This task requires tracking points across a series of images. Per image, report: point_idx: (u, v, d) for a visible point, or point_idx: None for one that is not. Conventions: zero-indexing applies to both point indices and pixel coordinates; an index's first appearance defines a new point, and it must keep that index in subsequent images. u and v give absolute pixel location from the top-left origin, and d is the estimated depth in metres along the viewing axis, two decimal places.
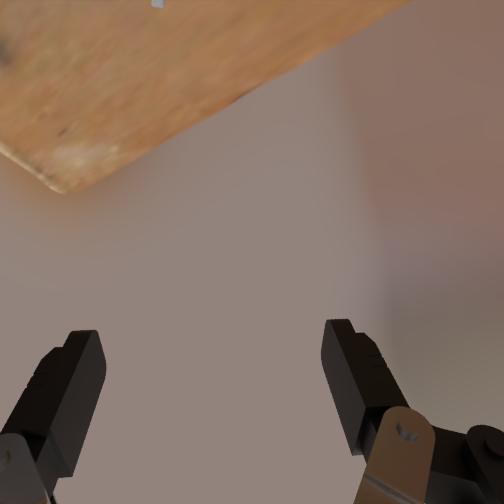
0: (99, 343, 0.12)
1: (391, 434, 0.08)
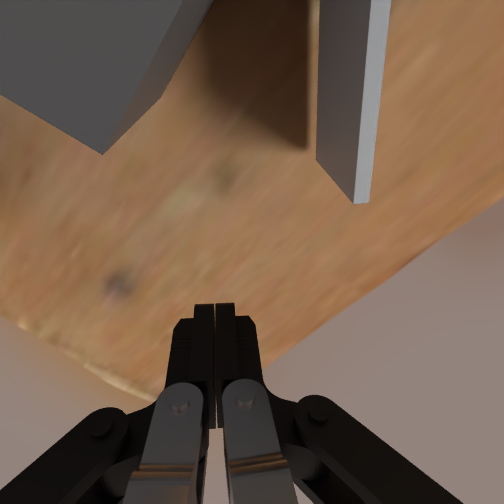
0: (214, 316, 0.13)
1: (235, 412, 0.09)
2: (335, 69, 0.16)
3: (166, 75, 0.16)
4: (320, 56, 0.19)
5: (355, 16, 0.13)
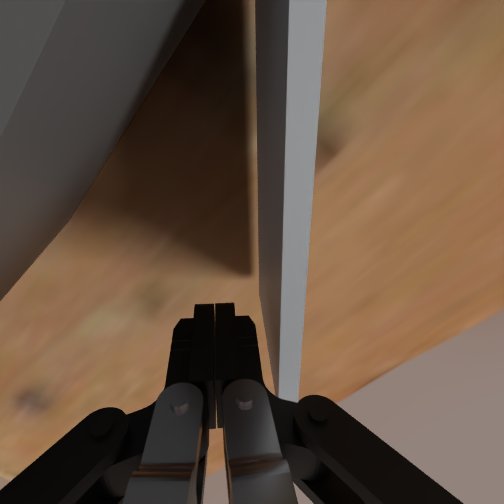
0: (214, 316, 0.13)
1: (235, 412, 0.09)
2: (266, 234, 0.13)
3: (44, 239, 0.12)
4: (258, 196, 0.15)
5: (274, 212, 0.10)
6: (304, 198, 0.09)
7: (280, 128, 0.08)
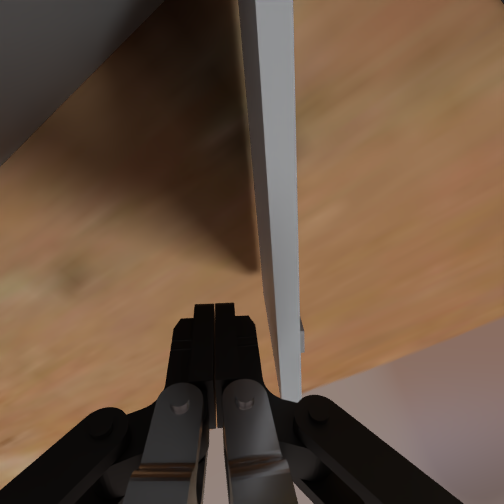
0: (215, 316, 0.13)
1: (235, 412, 0.09)
2: (262, 234, 0.13)
3: None
4: (255, 196, 0.15)
5: (264, 211, 0.10)
6: (289, 196, 0.09)
7: (261, 128, 0.08)
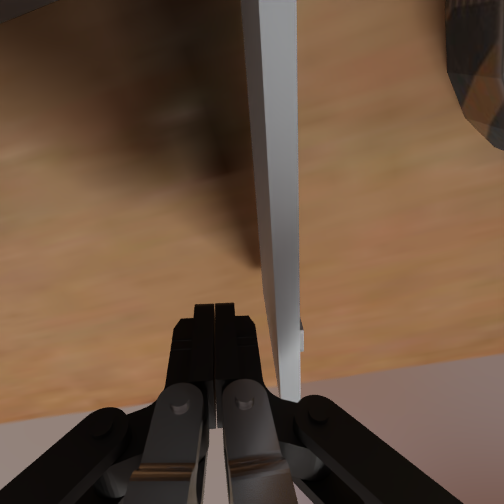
0: (215, 316, 0.13)
1: (234, 412, 0.09)
2: (262, 233, 0.13)
3: None
4: (256, 194, 0.15)
5: (265, 210, 0.10)
6: (290, 196, 0.08)
7: (262, 127, 0.08)
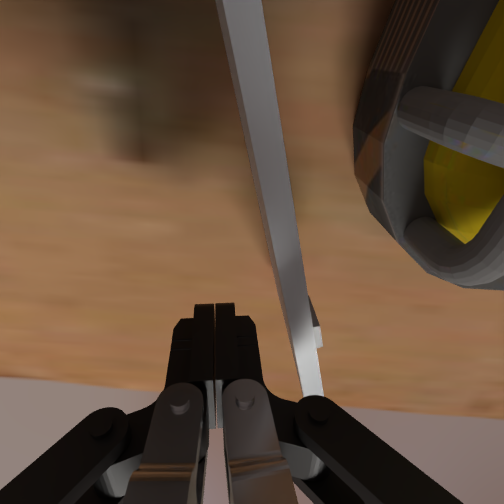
0: (214, 316, 0.13)
1: (235, 412, 0.09)
2: (267, 235, 0.13)
3: None
4: (257, 197, 0.15)
5: (264, 214, 0.10)
6: (284, 199, 0.09)
7: (248, 135, 0.08)
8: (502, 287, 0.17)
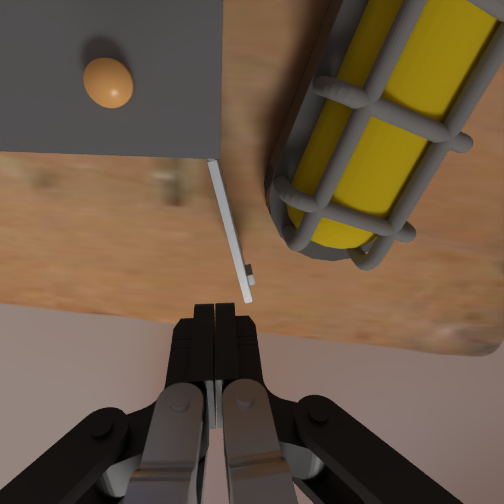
0: (214, 316, 0.13)
1: (235, 412, 0.09)
2: None
3: None
4: None
5: None
6: (230, 225, 0.29)
7: None
8: (330, 259, 0.37)
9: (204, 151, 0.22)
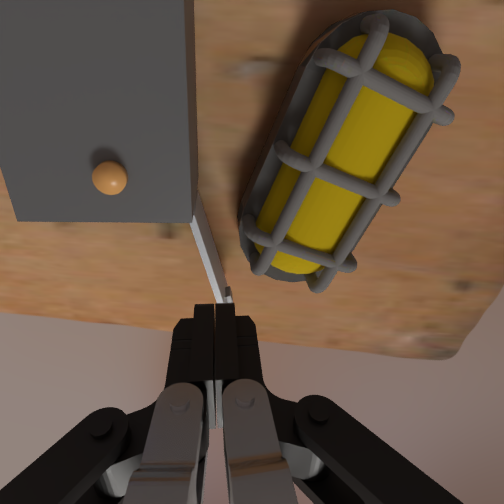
0: (215, 316, 0.13)
1: (235, 412, 0.09)
2: None
3: None
4: None
5: None
6: (208, 261, 0.37)
7: None
8: (290, 280, 0.45)
9: (180, 218, 0.30)
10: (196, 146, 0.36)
